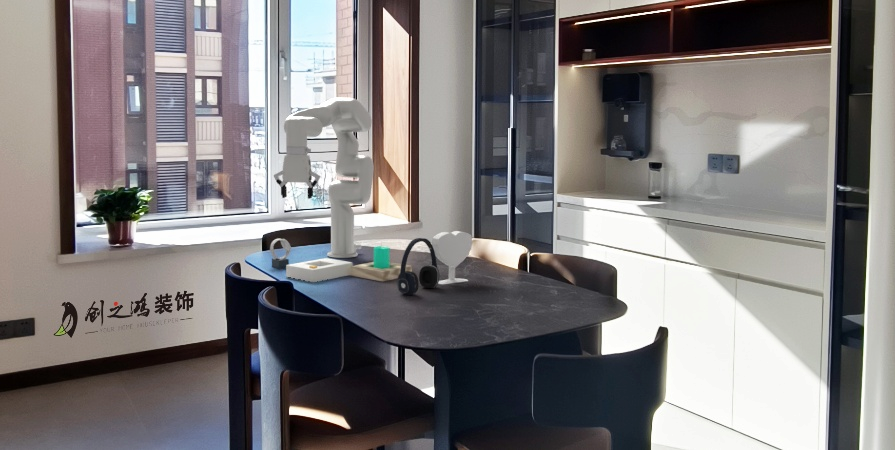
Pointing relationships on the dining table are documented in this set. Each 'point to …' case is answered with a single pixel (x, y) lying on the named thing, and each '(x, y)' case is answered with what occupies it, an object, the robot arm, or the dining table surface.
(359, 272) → the beige compartment tray
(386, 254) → the candle
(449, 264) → the heart sculpture
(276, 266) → the watch
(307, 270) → the port block
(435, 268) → the headphones
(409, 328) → the dining table surface
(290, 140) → the robot arm
